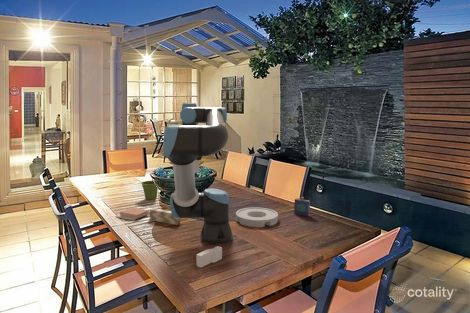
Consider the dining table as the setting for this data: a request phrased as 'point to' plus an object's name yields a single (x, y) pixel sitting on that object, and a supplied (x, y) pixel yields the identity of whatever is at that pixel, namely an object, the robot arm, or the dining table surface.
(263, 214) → the ashtray
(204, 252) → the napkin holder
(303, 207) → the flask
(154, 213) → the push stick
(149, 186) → the plant pot
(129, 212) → the tile
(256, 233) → the dining table surface
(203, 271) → the dining table surface
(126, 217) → the mat
